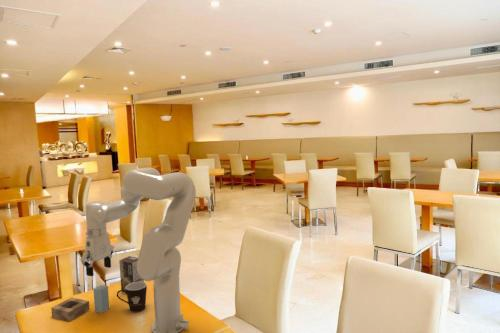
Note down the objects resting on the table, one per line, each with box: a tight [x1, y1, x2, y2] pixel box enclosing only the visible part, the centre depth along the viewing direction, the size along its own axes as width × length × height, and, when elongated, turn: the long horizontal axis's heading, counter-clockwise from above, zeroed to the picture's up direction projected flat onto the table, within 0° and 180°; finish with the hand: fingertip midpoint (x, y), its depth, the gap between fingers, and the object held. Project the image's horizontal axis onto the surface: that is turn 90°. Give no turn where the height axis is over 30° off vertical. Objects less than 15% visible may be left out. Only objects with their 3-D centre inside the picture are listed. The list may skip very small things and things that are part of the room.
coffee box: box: [118, 255, 145, 295], centre depth 170 cm, size 9×6×16 cm
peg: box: [92, 284, 110, 314], centre depth 155 cm, size 4×4×10 cm
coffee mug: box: [116, 281, 148, 313], centre depth 155 cm, size 12×9×10 cm
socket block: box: [50, 297, 91, 322], centre depth 152 cm, size 10×10×4 cm
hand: (99, 271), depth 154 cm, fingers open, 9 cm apart
